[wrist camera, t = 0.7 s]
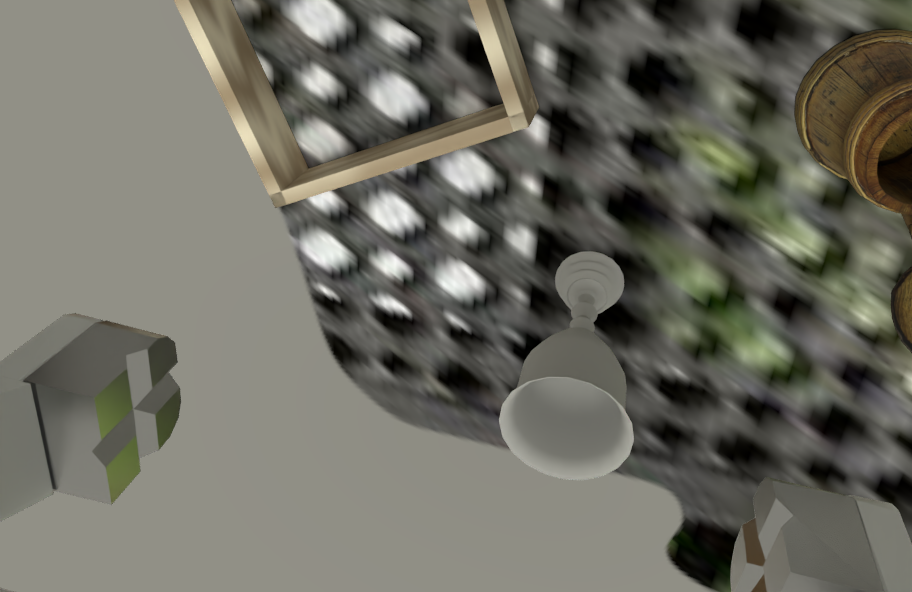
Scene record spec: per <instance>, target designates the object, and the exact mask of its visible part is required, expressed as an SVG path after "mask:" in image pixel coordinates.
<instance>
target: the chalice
mask: <svg viewBox="0 0 912 592" xmlns="http://www.w3.org/2000/svg"><path fill="white" fill-rule="evenodd" d="M555 284H556V289H557V291H558V293H559V295H560V297H561V298H562V299H563V301H564V302H565V304H566V305H567V306H568V307H569V308H570V309H571V316H572V318H573V320H572V321H571V322H570V328H569V329H566V330H563V331H561V332H558V333H556V334H553V335H552V336H550V337H549V338H547V339H546V340H544V341H543V342H542V343H540V344H539V345H538V346H537V347H535V348H534V349H533V350H532V351H531V353H530V354H529V355H528V357H527V358H526V360H525V361H524V364H523V368H522V372H521V376H520V379H519V383H518V387H517V389H515V390H513V391H512V392H511V394H510V395H509V396H508V398H507V399H506V400H505V402H504V403H503V405H502V409H501V414H500V418H499V423H500V427H501V432H502V437H503V438H504V440H505V442H506V443H507V445H508V446H509V448H510V450H511V451H512V452H513V453H514V454H515V455H516V456H517V457H518V458H519V459H521V460H522V461H523V462H524V463H525V464H526V465H528V466H530V467H532V468H534V469H536V470H538V471H539V472H541V473H543V474H546V475H550V476H554V477H557V478H560V479H572V480H586V479H591V478H597V477H602V476H603V475H605V474H607V473H609V472H611V471H613V470H615V469H617V468H618V467H619V466H620V465H621V464H622V463H623V462H624V461H625V459H626V458H627V457H628V456H629V454H630V451H631V448H632V444H633V441H634V437H633V429H632V423H631V421H630V419H629V417H628V415H627V413H626V412H625V405H626V380H625V374H624V372H623V370H622V368H621V366H620V364H619V362H618V360H617V359H616V357H615V355H614V354H613V352H612V350H611V349H610V348H609V347H608V346H607V345H606V344H605V343H604V342H603V341H602V340H601V339H600V338H599V337H598V336H597V335H596V334H594V333H593V332H594V329H595V328H594V324H593V322H594V321H595V320H596V319H597V315H598V314H599V313H602V312H603V311H604V310H606V309H608V308H609V307H610V306H612V305H613V304H615V303H616V302H617V300H618V299H619V298H620V296H621V295H622V292H623V288H624V276H623V274H622V272H621V269H620V267H619V266H618V265H617V264H616V263H615V262H614V261H613V259H611V258H609V257H607V256H606V255H604V254H601V253H597V252H593V251H588V252H579V253H576V254H573V255H571V256H569V257H568V258H567V259H565V260H564V261H563V262H562V263H561V265H560V266H559V268H558V269H557V273H556V277H555Z"/></svg>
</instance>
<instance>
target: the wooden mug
mask: <svg viewBox="0 0 912 592" xmlns="http://www.w3.org/2000/svg"><path fill="white" fill-rule="evenodd" d="M794 115H795V120H796V125H797V130H798V134H799V136H800V139H801V141H802V143H803V146H804V147H805V148H806V150H807V151H808V152H809V153H810V155H811V156H812V157H813V158H814V160H815V161H817V162H818V163H819V164H820V165H822V166H823V167H825V168H826V169H828V170H829V171H831V172H833V173H834V174H836V175H837V176H839V177H841V178H845V179H848V180H849V182H850V183H851V185H852V186H853V187H854V189H855V190H856V192H857V193H858V194H859V195H861V196H862V197H864V198H865V199H867V200H869V201H870V202H872V203H873V204H875V205H876V206H878V207H881V208H884V209H887V210H890V211H893V212H896V213H901V214H902V216H903V218H904V221H905V223H906V225H907V227H908V229H909V233H910V235H911V238H912V32H910V31H903V30H897V29H895V30H874V31H871V32H867V33H863V34H860V35H856V36H853V37H851V38H849V39H847V40H845V41H844V42H842V43H840V44H838V45H836V46H834V47H833V48H832V49H830V50H829V51H828V52H827V53H826V54H824V55H823V56H822V57H821V58H820V59H818V60H817V61H816V62H815V64H814V65H813V66H812V68H811V69H810V70H809V72H808V73H807V75H806V76H805V77H804V79H803V81H802V83H801V85H800V88H799V90H798V92H797V95H796V99H795V114H794ZM891 312H892V320H893V323H894V326H895V329H896V331H897V333H898V335H899V337H900V339H901V341H902V343H903V344H904V345H905V346H906V347H907V348H908V349H909V350H910V352H911V353H912V267H910V268H909V269H908V270H907V271H906V272H904V273H903V275H902V276H901V278H900V279H899V281H898V282H897V284H896V285H895V287H894V288H893V290H892V291H891Z"/></svg>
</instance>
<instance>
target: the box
mask: <svg viewBox="0 0 912 592" xmlns="http://www.w3.org/2000/svg"><path fill="white" fill-rule="evenodd" d="M174 2H175V3H176V6H177V8H178V10H179V12H180V14H181V15H182V18H183V20H184V22H185V24H186V26H187V28H188V30H189V32H190V34H191V36H192V38H193V40H194V43H195V45H196V47H197V48H198V50H199V53H200V55H201V57H202V59H203V61H204V63H205V65H206V67H207V69H208V71H209V73H210V75H211V77H212V79H213V81H214V83H215V85H216V87H217V90H218V91H219V94H220V96H221V98H222V100H223V102H224V104H225V106H226V108H227V110H228V112H229V114H230V116H231V118H232V120H233V122H234V124H235V126H236V128H237V130H238V132H239V134H240V136H241V138H242V141H243V143H244V145H245V147H246V149H247V151H248V153H249V154H250V157H251V159H252V161H253V163H254V165H255V167H256V169H257V171H258V173H259V175H260V177H261V179H262V182H263V184H264V186H265V188H266V190H267V192H268V194H269V196H270V198H271V200H272V201H273V204H274V206H275V208H277V207H280V206H283V205H287V204H290V203H293V202H296V201H299V200H302V199H305V198H308V197H312V196H315V195H318V194H321V193H324V192H327V191H330V190H333V189H337V188H340V187H343V186H346V185H349V184H352V183H355V182H358V181H362V180H365V179H368V178H371V177H374V176H377V175H380V174H383V173H387V172H390V171H393V170H396V169H399V168H402V167H405V166H408V165H412V164H415V163H418V162H421V161H424V160H427V159H430V158H433V157H437V156H440V155H443V154H446V153H449V152H452V151H455V150H459V149H462V148H465V147H468V146H471V145H474V144H477V143H480V142H484V141H487V140H490V139H493V138H496V137H499V136H502V135H505V134H509V133H512V132H515V131H518V130H521V129H524V128H527V127H529V125H530V124H531V122H532V120H533V118H534V116H535V114H536V112H537V110H538V108H539V105H538V102H537V99H536V96H535V93H534V90H533V87H532V84H531V81H530V78H529V75H528V72H527V69H526V66H525V63H524V60H523V57H522V54H521V51H520V48H519V45H518V42H517V39H516V36H515V33H514V30H513V27H512V24H511V21H510V18H509V15H508V12H507V9H506V6H505V3H504V0H468V2H469V5H470V8H471V11H472V14H473V17H474V20H475V23H476V25H477V28H478V31H479V34H480V37H481V40H482V43H483V45H484V48H485V51H486V54H487V57H488V60H489V63H490V66H491V68H492V71H493V74H494V77H495V80H496V83H497V86H498V89H499V91H500V94H501V97H502V100H503V104H500V105H497V106H494V107H491V108H488V109H485V110H482V111H479V112H476V113H473V114H470V115H467V116H464V117H461V118H458V119H455V120H452V121H449V122H446V123H443V124H440V125H437V126H434V127H431V128H428V129H425V130H422V131H419V132H416V133H413V134H410V135H407V136H404V137H401V138H398V139H395V140H393V141H390V142H387V143H384V144H381V145H378V146H375V147H372V148H369V149H366V150H363V151H360V152H357V153H354V154H351V155H348V156H345V157H342V158H339V159H336V160H333V161H330V162H327V163H324V164H321V165H318V166H315V167H312V168H308V166H307V164H306V162H305V160H304V157H303V155H302V153H301V151H300V149H299V147H298V144H297V142H296V140H295V138H294V136H293V134H292V131H291V129H290V127H289V125H288V123H287V121H286V118H285V116H284V114H283V112H282V110H281V108H280V105H279V103H278V101H277V99H276V97H275V95H274V92H273V90H272V88H271V86H270V84H269V82H268V79H267V77H266V75H265V73H264V71H263V69H262V66H261V64H260V62H259V60H258V58H257V56H256V53H255V51H254V49H253V47H252V45H251V43H250V40H249V38H248V36H247V34H246V32H245V30H244V27H243V25H242V23H241V21H240V19H239V17H238V14H237V12H236V10H235V8H234V6H233V4H232V1H231V0H174Z"/></svg>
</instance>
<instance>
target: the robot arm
mask: <svg viewBox="0 0 912 592" xmlns="http://www.w3.org/2000/svg"><path fill="white" fill-rule="evenodd" d="M177 362H178V361H177V354H176V347H175V343H174V341H172V340H171V339H170V338H169V337H168V336H164V335H160V334H156V333H152V332H148V331H145V330H141V329H137V328H133V327H129V326H125V325H121V324H118V323H114V322H110V321H103V320H101V319H96V318H93V317H89V316H85V315H81V314H76V313H73V314H65V315H63V316H62V317H60V318H59V319H57V320H56V321H55V322H53V323H52V324H50V325H49V326H48V327H46V328H45V329H44V330H42V331H41V332H40V333H38V334H37V335H36V336H34V337H33V338H31V339H30V340H29V341H27V342H26V343H25V344H23V345H22V346H21V347H19V348H18V349H17V350H15V351H14V352H12V353H11V354H10V355H8V356H7V357H6V358H4V359H3V360H2V361H0V522H1V521H3V520H5V519H7V518H9V517H10V516H12V515H14V514H16V513H18V512H20V511H22V510H24V509H26V508H28V507H30V506H32V505H34V504H36V503H38V502H39V501H41V500H43V499H45V498H47V497H49V496H51V495H53V493H54V492H53V491H56V492H61V493H65V494H70V495H73V496H77V497H82V498H86V499H90V500H95V501H98V502H102V503H107V504H113V502H114V501H115V500H116V499H117V498H118V497H119V495H120V494H121V493H122V492H123V491H124V490H125V489H126V488H127V486H128V485H129V484H130V483H131V482H132V481H133V480H134V478H135V477H136V476H137V475H138V474H139V473H140V458H141V457H143V456H146V455H148V454H151V453H153V452H155V451H158V450H159V449H160V448H161V447H162V446H163V445H164V443H165V442H166V441H167V440H168V438H169V437H170V436H171V433H172V431H173V429H174V427H175V424H176V422H177V420H178V418H179V411H180V404H181V396H180V388H179V386H178V384H177V383H176V382H175V380H174V379H173V377H172V376H171V375H170V373H169V372H170V370H171V369H172V368H173V367H174V366H175V365H176V363H177ZM753 503H754V510H755V517H756V518H754V519H752V520H750V521H748V522H746V523H745V524H743V525H742V527H741V530H740V532H739V535H738V538H737V540H736V543H735V547H734V552H733V557H732V562H731V592H912V544H911V541H910V538H909V536H908V533H907V531H906V528H905V526H904V523H903V520H902V518H901V515H900V513H899V510H898V509H897V508H896V507H895V506H894V505H892V504H891V503H886V502H881V501H876V500H872V499H867V498H862V497H857V496H853V495H848V496H846V495H842V494H838V493H834V492H829V491H825V490H821V489H816V488H812V487H808V486H803V485H799V484H794V483H790V482H786V481H781V480H777V479H773V478H768V477H765V479H764V480H763V481H762V482H761V484H760V485H759V487H758V489H757V492H756V494H755V496H754V498H753ZM0 592H14V591H10V590H7V589H4V588H0Z"/></svg>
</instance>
